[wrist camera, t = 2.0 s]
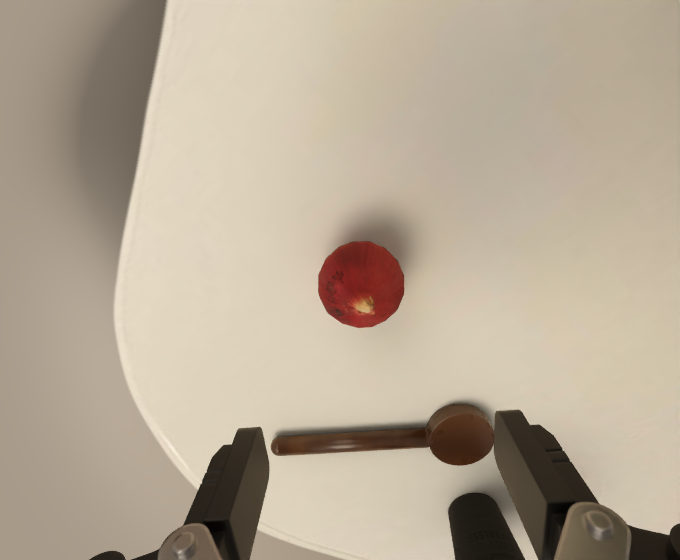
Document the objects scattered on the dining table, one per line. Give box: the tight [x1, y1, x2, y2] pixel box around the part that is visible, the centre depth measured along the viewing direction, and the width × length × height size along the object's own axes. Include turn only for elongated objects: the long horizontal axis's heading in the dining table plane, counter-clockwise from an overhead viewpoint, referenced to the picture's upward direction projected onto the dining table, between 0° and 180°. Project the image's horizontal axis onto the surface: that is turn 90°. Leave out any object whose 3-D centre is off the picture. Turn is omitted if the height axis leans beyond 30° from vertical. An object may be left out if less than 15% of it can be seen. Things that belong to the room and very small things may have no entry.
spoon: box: [271, 404, 494, 465], centre depth 35 cm, size 6×20×2 cm, turn 96°
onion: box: [318, 241, 404, 328], centre depth 27 cm, size 6×6×8 cm
